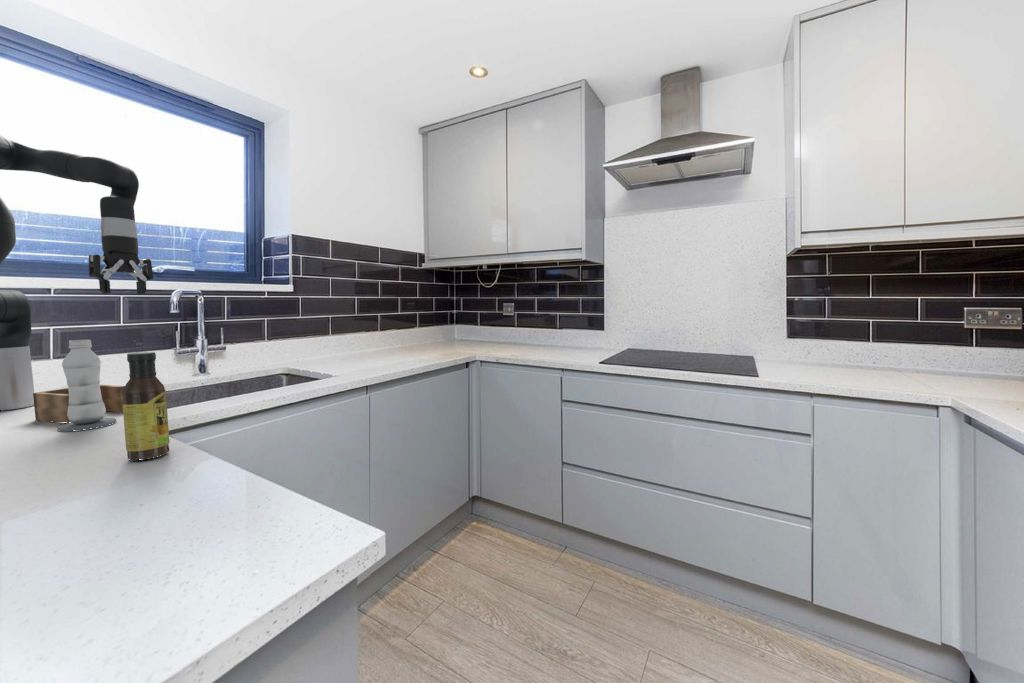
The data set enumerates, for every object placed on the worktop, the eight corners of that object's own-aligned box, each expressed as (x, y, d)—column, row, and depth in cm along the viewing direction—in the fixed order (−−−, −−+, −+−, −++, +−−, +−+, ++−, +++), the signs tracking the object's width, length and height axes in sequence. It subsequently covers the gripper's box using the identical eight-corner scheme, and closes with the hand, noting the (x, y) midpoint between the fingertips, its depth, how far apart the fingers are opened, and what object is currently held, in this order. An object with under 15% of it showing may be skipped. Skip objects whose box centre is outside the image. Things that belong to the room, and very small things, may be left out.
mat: (46, 430, 99) (46, 427, 99) (98, 418, 108) (98, 416, 108) (76, 433, 96) (75, 430, 96) (126, 421, 106) (126, 419, 105)
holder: (35, 420, 107) (32, 393, 106) (95, 408, 119) (93, 384, 118) (68, 424, 104) (66, 395, 103) (126, 411, 116) (124, 386, 115)
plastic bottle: (114, 419, 105) (107, 339, 103) (84, 427, 99) (76, 341, 97) (91, 418, 106) (83, 338, 104) (59, 426, 99) (51, 341, 97)
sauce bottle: (168, 458, 80) (160, 353, 78) (124, 465, 77) (114, 355, 75) (172, 448, 85) (164, 350, 84) (130, 454, 82) (122, 352, 80)
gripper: (138, 240, 127) (142, 294, 129) (78, 232, 114) (84, 293, 115) (156, 239, 125) (160, 294, 127) (97, 231, 111) (103, 293, 113)
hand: (124, 294), depth 121 cm, fingers open, 8 cm apart
